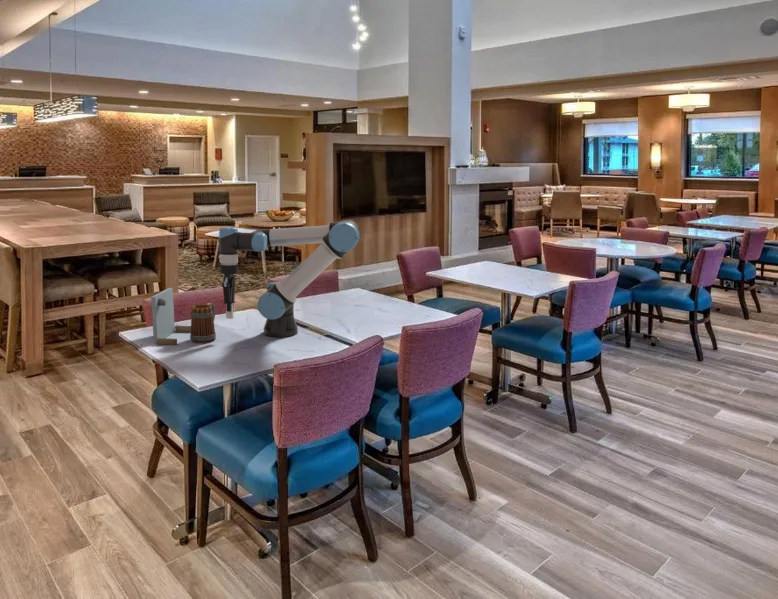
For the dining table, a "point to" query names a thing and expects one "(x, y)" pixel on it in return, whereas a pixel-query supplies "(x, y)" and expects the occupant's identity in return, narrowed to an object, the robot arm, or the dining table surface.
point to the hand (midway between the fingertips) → (229, 318)
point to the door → (163, 314)
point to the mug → (203, 323)
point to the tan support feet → (173, 341)
